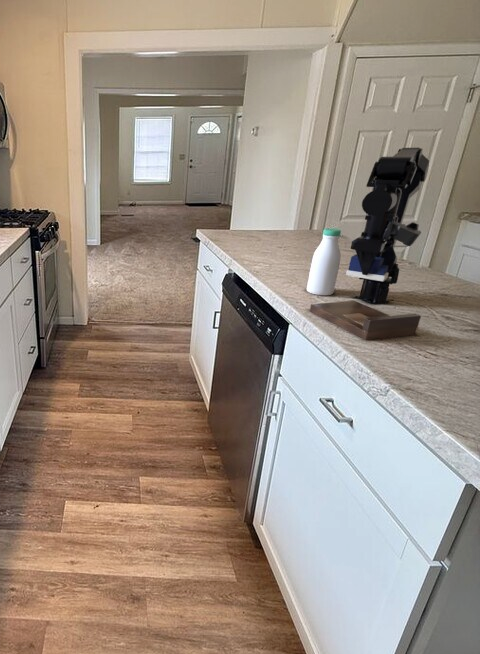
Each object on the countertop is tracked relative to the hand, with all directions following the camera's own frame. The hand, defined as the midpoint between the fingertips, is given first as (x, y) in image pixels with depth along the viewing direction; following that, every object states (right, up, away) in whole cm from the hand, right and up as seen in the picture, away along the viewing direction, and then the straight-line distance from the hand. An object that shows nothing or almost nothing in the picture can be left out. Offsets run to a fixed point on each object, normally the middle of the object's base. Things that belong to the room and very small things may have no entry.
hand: (367, 272), depth 104 cm
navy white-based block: (0, -1, 0) cm, 1 cm away
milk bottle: (+1, -3, +25) cm, 25 cm away
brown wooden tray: (-1, -13, +2) cm, 13 cm away
